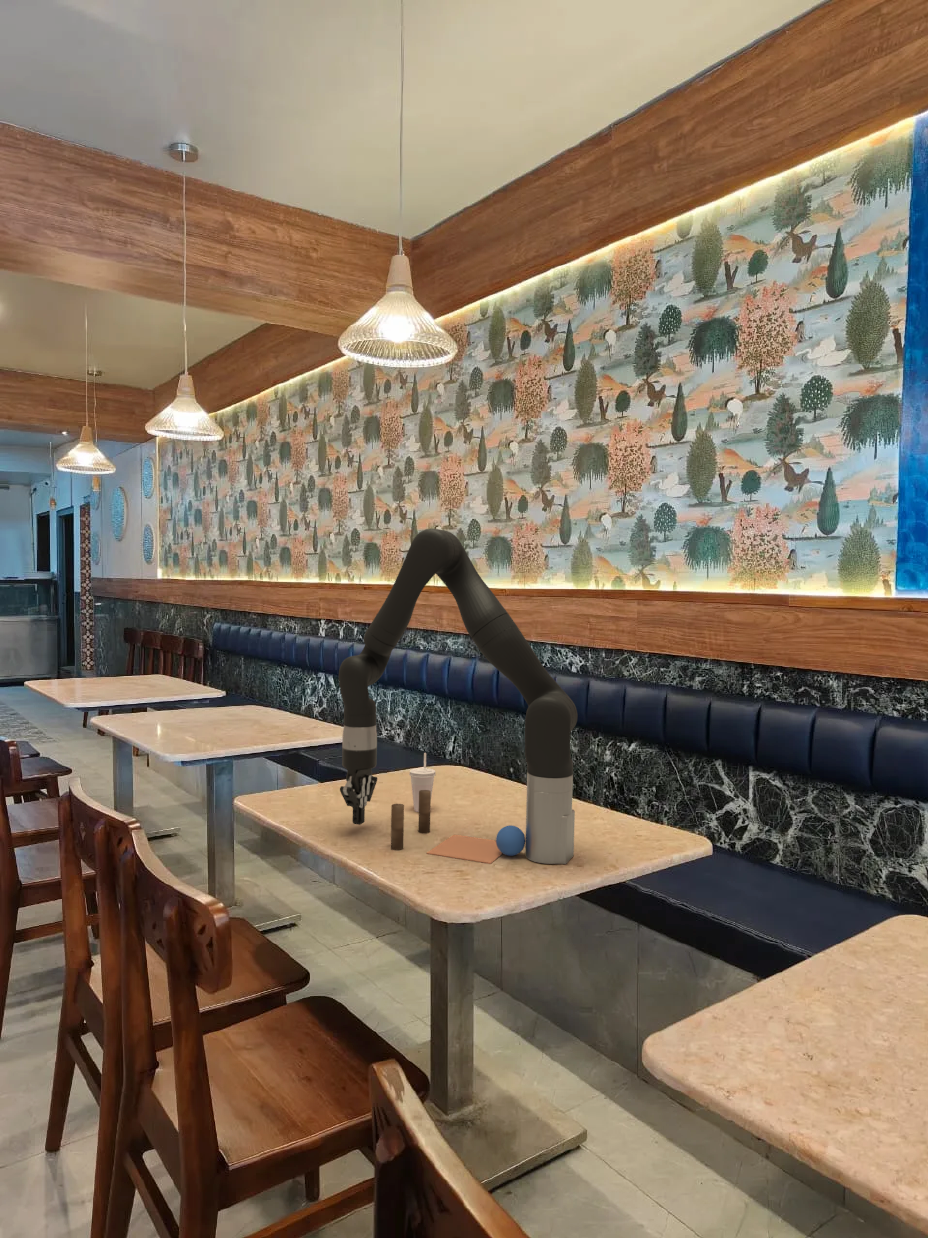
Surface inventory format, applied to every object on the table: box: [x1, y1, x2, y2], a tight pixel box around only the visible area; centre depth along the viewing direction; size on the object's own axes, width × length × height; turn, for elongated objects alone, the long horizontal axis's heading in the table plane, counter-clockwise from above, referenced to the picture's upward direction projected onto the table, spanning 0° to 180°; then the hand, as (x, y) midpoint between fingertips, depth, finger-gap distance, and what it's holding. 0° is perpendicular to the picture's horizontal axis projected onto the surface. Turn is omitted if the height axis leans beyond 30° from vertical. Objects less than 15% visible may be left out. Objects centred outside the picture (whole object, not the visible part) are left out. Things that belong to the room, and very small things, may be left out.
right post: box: [417, 790, 432, 834], centre depth 188 cm, size 3×3×9 cm
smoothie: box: [409, 752, 437, 813], centre depth 206 cm, size 6×6×14 cm
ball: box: [495, 824, 526, 857], centre depth 174 cm, size 6×6×6 cm
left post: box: [390, 803, 405, 851], centre depth 176 cm, size 3×3×9 cm
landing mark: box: [426, 833, 504, 865], centre depth 177 cm, size 14×14×1 cm
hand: (358, 823), depth 188 cm, fingers closed
